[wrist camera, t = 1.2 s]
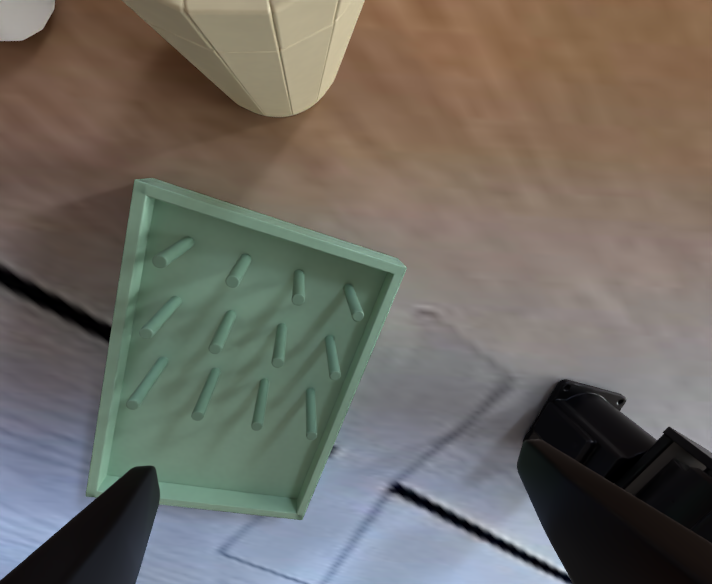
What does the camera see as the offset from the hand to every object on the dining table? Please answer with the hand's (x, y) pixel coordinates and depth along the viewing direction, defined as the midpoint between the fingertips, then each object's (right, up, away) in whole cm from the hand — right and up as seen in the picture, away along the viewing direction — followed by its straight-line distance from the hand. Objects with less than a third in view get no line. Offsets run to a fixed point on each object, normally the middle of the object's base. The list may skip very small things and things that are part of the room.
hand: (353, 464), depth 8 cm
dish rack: (-7, -1, +14) cm, 16 cm away
